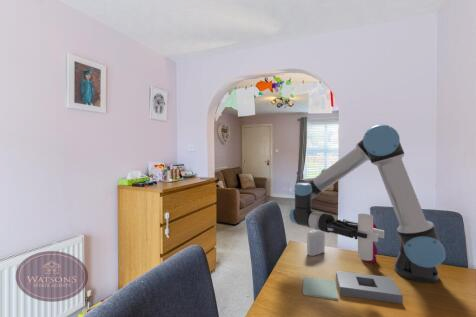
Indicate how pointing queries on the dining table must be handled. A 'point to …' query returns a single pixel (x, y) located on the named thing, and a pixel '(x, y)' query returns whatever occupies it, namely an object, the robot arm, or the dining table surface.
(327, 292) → the pad
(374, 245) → the pink bowling pin
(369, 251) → the plug
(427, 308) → the dining table surface
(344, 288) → the grey holed plate
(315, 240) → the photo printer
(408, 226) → the robot arm
